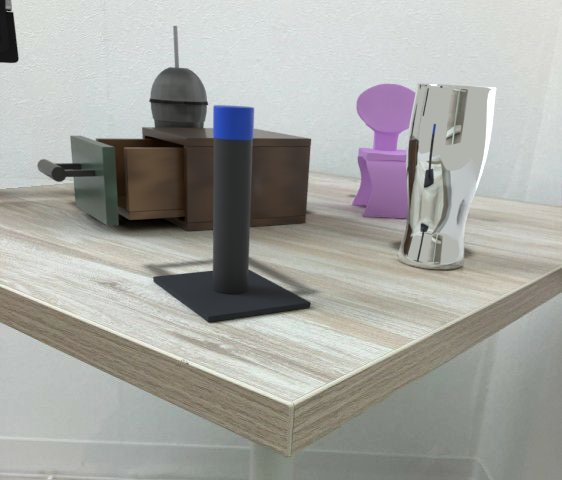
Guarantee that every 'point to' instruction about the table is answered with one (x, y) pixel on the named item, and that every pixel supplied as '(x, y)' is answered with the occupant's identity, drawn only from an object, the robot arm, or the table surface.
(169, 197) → the drawer
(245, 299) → the mat
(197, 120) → the beverage cup
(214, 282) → the marker
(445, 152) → the beer glass
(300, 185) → the cabinet
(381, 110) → the toy chair
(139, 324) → the table surface
